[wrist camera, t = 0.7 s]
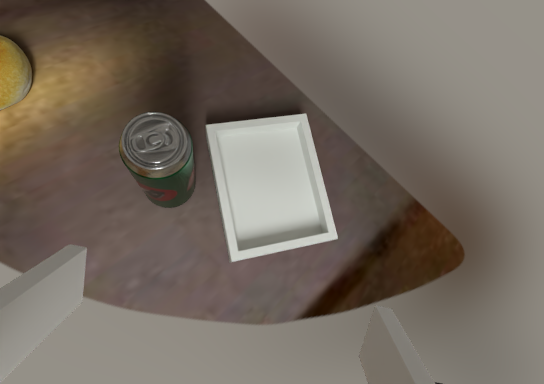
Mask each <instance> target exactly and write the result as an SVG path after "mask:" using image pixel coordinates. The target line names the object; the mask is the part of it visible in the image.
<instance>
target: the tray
mask: <svg viewBox="0 0 544 384" xmlns="http://www.w3.org/2000/svg"><path fill="white" fill-rule="evenodd" d="M206 140H207V145H208V150H209V156H210V161H211V166H212V172H213V177H214V182H215V188H216V193H217V198H218V203H219V209H220V214H221V219H222V225H223V230H224V235H225V241H226V246H227V251H228V257H229V262H235V261H239V260H244V259H248V258H253V257H258V256H262V255H267V254H271V253H276V252H281V251H285V250H290V249H294V248H299V247H304V246H308V245H313V244H317V243H322V242H327V241H331V240H335V239H338V237H337V233H336V229H335V225H334V221H333V217H332V213H331V209H330V205H329V201H328V198H327V194H326V190H325V186H324V182H323V178H322V174H321V170H320V166H319V162H318V158H317V154H316V151H315V147H314V143H313V139H312V135H311V131H310V127H309V123H308V119H307V115H306V114H298V115H289V116H280V117H271V118H262V119H254V120H245V121H236V122H227V123H218V124H210V125H206Z"/></svg>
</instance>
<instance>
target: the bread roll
mask: <svg viewBox="0 0 544 384" xmlns="http://www.w3.org/2000/svg"><path fill="white" fill-rule="evenodd" d="M31 83H32V69H31V65H30V63H29V60H28V58H27V57H26V56H25V54H24V52H23V51H22V50H21V49H20V48H19V46H18V45H17V44H15V43H14V42H13V41H12V40H10V39H8V38H6V37H3V36H1V35H0V110H2V109H5V108H7V107H9V106H11V105H13V104H15V103H18V102H19V101H21V100H22V99H23V98H24V97H25V96H26V95H27V93H28V91H29V89H30V86H31Z"/></svg>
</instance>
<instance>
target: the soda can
mask: <svg viewBox="0 0 544 384" xmlns="http://www.w3.org/2000/svg"><path fill="white" fill-rule="evenodd" d="M119 152H120V156H121V158H122V161H123V162H124V164H125V165H126V167H127V168H128V170H129V171H130V173H131V174H132V176H133V177H134V178H135V180H136V181H137V183H138V184H139V186H140V187H141V189H142V190H143V191H144V193H145V194H146V196H147V197H148V198H149V200H150V201H152V202H153V203H154V204H156V205H158V206H161V207H165V208H172V207H177V206H180V205H182V204H183V203H185V202H186V201H187V200H188V199H189V198H190V197H191V196H192V194H193V192H194V189H195V173H194V159H193V145H192V139H191V136H190V134H189V132H188V130H187V129H186V127H185V126H184V125H183V124H182V123H181V122H180V121H178V120H177V119H175V118H173V117H172V116H170V115H168V114H165V113H161V112H146V113H143V114H140V115H138V116H136V117H134V118H133V119H132V120H131V121H129V122H128V124H127V125H126V126H125V128H124V130H123V133H122V134H121V137H120V141H119Z"/></svg>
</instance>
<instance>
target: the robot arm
mask: <svg viewBox="0 0 544 384" xmlns="http://www.w3.org/2000/svg"><path fill="white" fill-rule="evenodd" d="M86 252H87V248H86V247H81V246H75V245H70V244H69V245H68V246H66V247H64V248H63V249H61V250H60V251H58V252H57V253H55V254H54V255H52V256H50V257H49V258H47V259H46V260H44V261H43V262H41V263H39V264H38V265H36V266H35V267H33V268H32V269H30V270H29V271H27V272H25V273H24V274H22V275H21V276H19V277H18V278H16V279H14V280H13V281H11V282H10V283H8V284H7V285H5V286H4V287H2V288H0V383H1V381H3V380H4V379H5V378H6V377H7V376H8V375H9V374H10V373H11V372H12V371H13V370H14V369H15V368H16V367H17V366H18V365H19V364H20V363H21V362H22V361H23V360H24V359H25V358H26V357H27V356H28V355H29V354H30V353H31V352H32V351H33V350H34V349H35V348H36V347H37V346H38V345H39V344H40V343H41V342H42V341H43V340H44V339H45V338H46V337H47V336H48V335H49V334H51V332H53V331H54V330H55V328H57V327H58V326H59V325H60V324H61V323H62V322H63V321H64V320H65V319H66V318H67V317H68V316H69V315H70V314H71V313H72V312H73V311H74V310H75V309H76V308H77V307H78V306H79V305H80V304H81V303H82V298H83V287H84V275H85V264H86ZM359 358H360V361H361V363H362V367H363V369H364V372H365V376H366V379H367V382H368V384H441V383H436V382H434V380H433V379H432V377H431V375H430V374H429V372H428V370H427V369H426V367H425V365H424V364H423V362H422V360H421V358H420V356H419V355H418V353H417V351H416V350H415V348H414V347H413V345H412V343H411V341H410V340H409V338H408V336H407V334H406V333H405V331H404V329H403V327H402V326H401V324H400V323H399V321H398V319H397V317H396V316H395V314H394V312H393V311H392V309H391V308H386V307H381V306H376V305H375V307H374V311H373V314H372V317H371V320H370V323H369V326H368V329H367V332H366V335H365V338H364V342H363V345H362V348H361V351H360V354H359Z"/></svg>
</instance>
